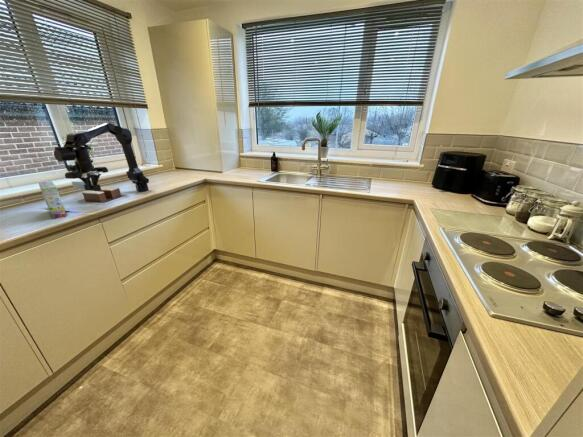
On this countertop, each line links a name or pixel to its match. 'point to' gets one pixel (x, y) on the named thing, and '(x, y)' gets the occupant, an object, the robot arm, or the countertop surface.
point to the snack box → (52, 199)
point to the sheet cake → (110, 191)
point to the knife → (83, 186)
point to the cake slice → (94, 196)
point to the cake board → (105, 200)
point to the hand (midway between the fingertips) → (93, 188)
